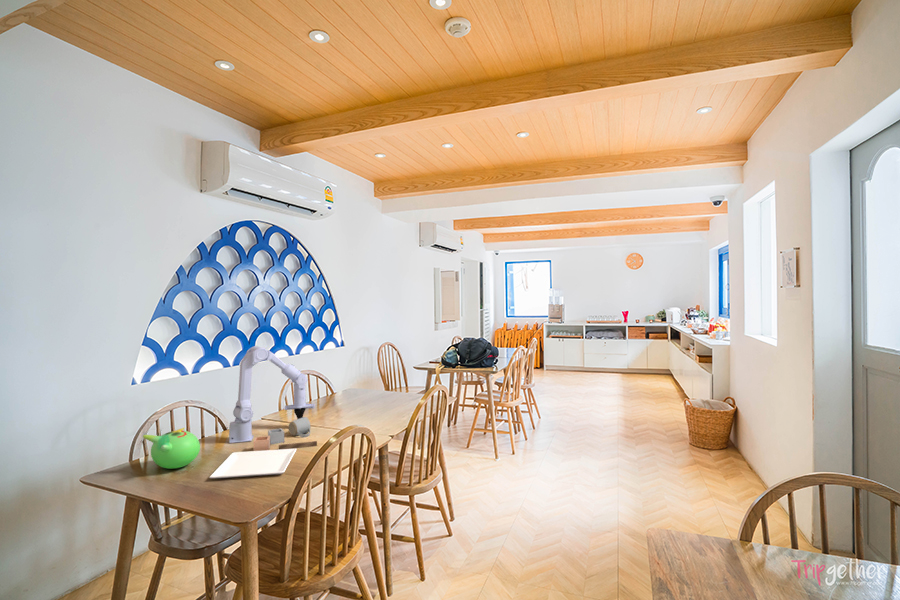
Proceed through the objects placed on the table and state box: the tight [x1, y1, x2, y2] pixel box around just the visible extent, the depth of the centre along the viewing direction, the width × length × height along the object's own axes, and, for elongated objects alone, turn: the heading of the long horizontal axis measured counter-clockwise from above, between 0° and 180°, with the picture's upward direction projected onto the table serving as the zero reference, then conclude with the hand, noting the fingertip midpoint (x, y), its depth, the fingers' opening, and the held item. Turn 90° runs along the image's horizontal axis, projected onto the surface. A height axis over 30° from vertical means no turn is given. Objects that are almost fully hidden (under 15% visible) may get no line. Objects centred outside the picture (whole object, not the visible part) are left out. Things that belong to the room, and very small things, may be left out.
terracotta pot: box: [253, 435, 271, 451], centre depth 193 cm, size 6×6×5 cm
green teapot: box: [142, 427, 201, 469], centre depth 174 cm, size 18×17×15 cm
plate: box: [209, 448, 298, 479], centre depth 175 cm, size 26×26×2 cm
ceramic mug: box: [288, 416, 312, 438], centre depth 214 cm, size 11×8×8 cm
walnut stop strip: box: [278, 440, 318, 450], centre depth 195 cm, size 16×1×2 cm, turn 107°
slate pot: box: [267, 428, 285, 446], centre depth 204 cm, size 6×6×5 cm
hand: (300, 423), depth 225 cm, fingers closed
